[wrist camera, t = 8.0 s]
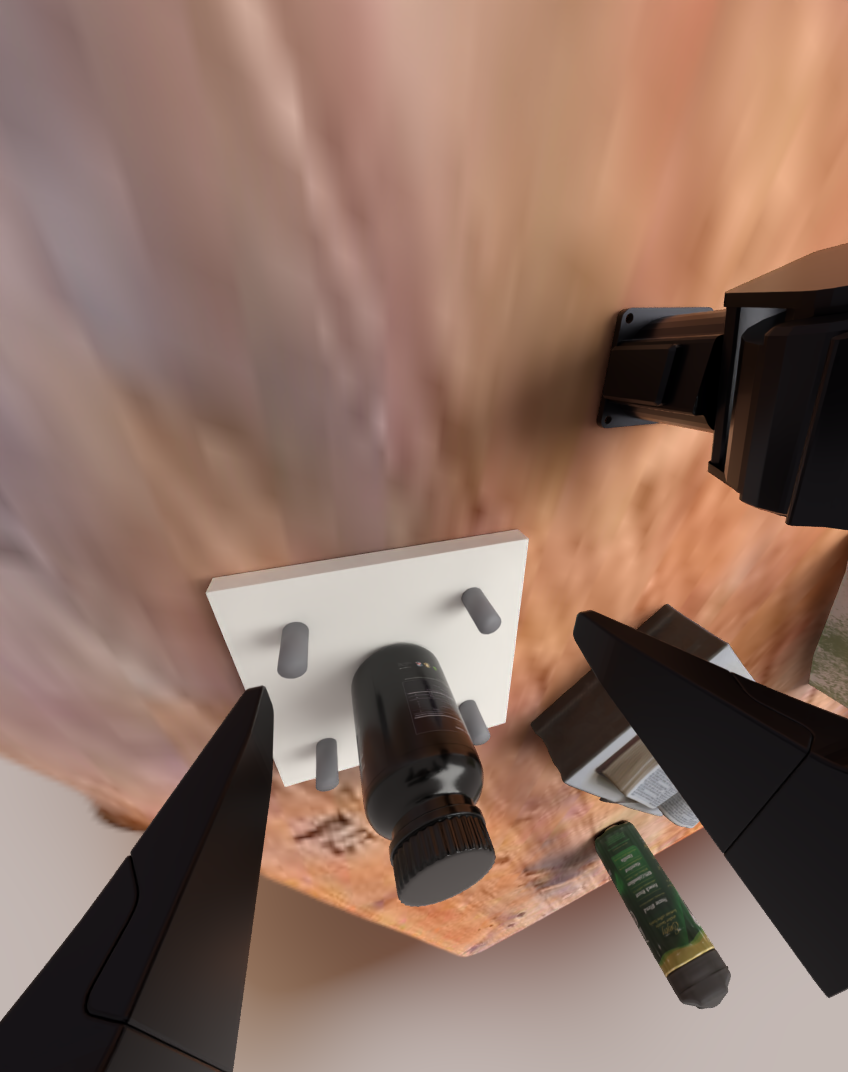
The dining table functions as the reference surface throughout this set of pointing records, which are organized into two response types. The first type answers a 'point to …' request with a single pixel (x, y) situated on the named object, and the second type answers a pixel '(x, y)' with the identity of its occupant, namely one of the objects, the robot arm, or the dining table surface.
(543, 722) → the bible
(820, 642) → the grocery bag
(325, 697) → the peg board
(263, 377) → the dining table surface
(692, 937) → the coffee jar
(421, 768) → the supplement bottle
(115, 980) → the robot arm
